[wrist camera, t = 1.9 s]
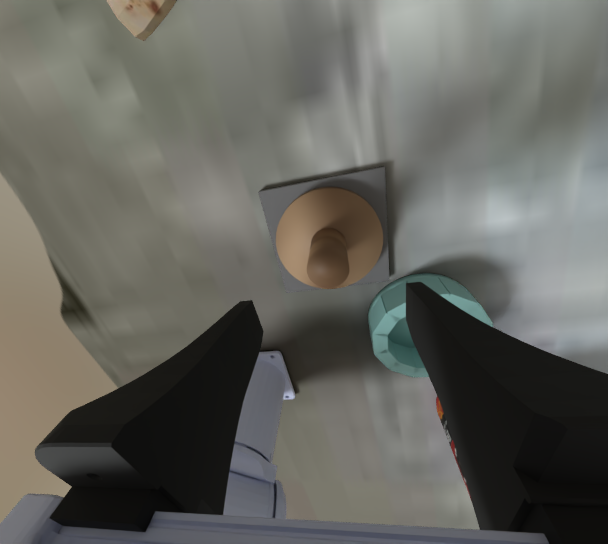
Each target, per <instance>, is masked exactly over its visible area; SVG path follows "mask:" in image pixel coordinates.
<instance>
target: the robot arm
mask: <svg viewBox="0 0 608 544" xmlns="http://www.w3.org/2000/svg"><path fill="white" fill-rule="evenodd" d="M406 322H407V325H408V328H409V332H410V335H411V338H412V340H413V343H414V345H415V347H416V349H417V351H418V354H419V356H420V358H421V360H422V362H423V364H424V367H425V369H426V371H427V373H428V375H429V377H430V380H431V382H432V384H433V386H434V388H435V391H436V393H437V396H438V398H439V401H440V404H441V407H442V410H443V413H444V416H445V418H446V421H447V424H448V427H449V430H450V433H451V436H452V439H453V442H454V445H455V448H456V452H457V455H458V458H459V461H460V464H461V467H462V471H463V474H464V477H465V480H466V483H467V487H468V490H469V493H470V497H471V500H472V504H473V507H474V510H475V514H476V517H477V520H478V524H479V527H480V530H473V529H455V528H438V527H420V526H403V525H385V524H368V523H350V522H333V521H315V520H298V519H286V497H285V493H284V491H283V486H282V484H281V482H280V481H279V480H275V477H276V470H277V466H276V465H274V464H272V460H273V454H274V448H275V443H276V437H277V432H278V426H279V420H280V415H281V409H282V403H283V399H294V398H295V392H294V389H293V386H292V383H291V380H290V377H289V374H288V371H287V368H286V365H285V362H284V359H283V356H282V354H281V352H279V351H268V352H260V348H261V343H262V337H263V329H262V326H261V324H260V321H259V318H258V315H257V313H256V310H255V307H254V304H253V302H252V300H250V301H241V302H239V303H238V304H237V305H235V306H234V307H233V308H232V309H231V310H230V311H228V312H227V313H226V314H225V315H224V316H223V317H222V318H220V319H219V320H218V321H217V322H216V323H215V324H214V325H212V326H211V327H210V328H209V329H208V330H207V331H205V332H204V333H203V334H202V335H200V336H199V337H198V338H197V339H196V340H194V341H193V342H192V343H191V344H189V345H188V346H187V347H185V348H184V349H183V350H181V351H180V352H178V353H177V354H175V355H174V356H173V357H171V358H170V359H168V360H167V361H165V362H164V363H162V364H160V365H159V366H157V367H155V368H154V369H152V370H151V371H149V372H147V373H146V374H144V375H142V376H141V377H139V378H137V379H135V380H133V381H132V382H130V383H128V384H126V385H124V386H122V387H120V388H118V389H117V390H115V391H113V392H111V393H109V394H107V395H105V396H102V397H100V398H98V399H96V400H94V401H92V402H90V403H87V404H85V405H84V406H81V407H79V408H76V409H74V410H72V411H71V412H69V413H68V414H67V415H66V416H65V417H64V418H63V420H62V421H61V422H60V423H59V424H58V425H57V426H56V427H55V428H54V429H53V430H52V431H51V433H49V434H48V435H47V437H46V438H45V439H44V440H43V441H42V442H41V443H40V444H39V445H38V446H37V448H36V449H35V456H36V459H37V460H38V462H40V464H41V465H42V466H44V467H45V468H46V469H47V470H49V471H51V472H52V473H53V474H55V475H56V476H58V477H59V478H60V479H62V480H63V481H65V482H66V483H68V484H69V485H71V486H72V488H71V489H70V490H69V492H68V493H67V495H66V496H65V497H64V498H63V497H60V496H57V495H48V494H27V495H24V496H23V498H22V499H21V500H20V501H19V502H18V503H17V505H16V506H15V507H14V508H13V509H12V511H11V512H10V513H9V514H8V515H7V516H6V518H5V519H4V520H3V521H2V522H1V523H0V544H608V374H606V373H603V372H600V371H597V370H594V369H591V368H588V367H586V366H583V365H580V364H577V363H574V362H572V361H569V360H566V359H564V358H561V357H558V356H556V355H553V354H551V353H548V352H546V351H543V350H541V349H539V348H536V347H534V346H532V345H529V344H527V343H524V342H522V341H520V340H518V339H516V338H513V337H511V336H509V335H507V334H505V333H503V332H501V331H499V330H497V329H495V328H493V327H491V326H489V325H488V324H486V323H484V322H482V321H480V320H479V319H477V318H475V317H473V316H472V315H470V314H468V313H467V312H465V311H463V310H462V309H460V308H459V307H457V306H455V305H454V304H452V303H451V302H449V301H448V300H446V299H445V298H443V297H442V296H441V295H439V294H438V293H436V292H435V291H433V290H432V289H431V288H429V287H428V286H426V285H425V284H424V283H422V282H412V283H406ZM272 355H273V356H272Z"/></svg>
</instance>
